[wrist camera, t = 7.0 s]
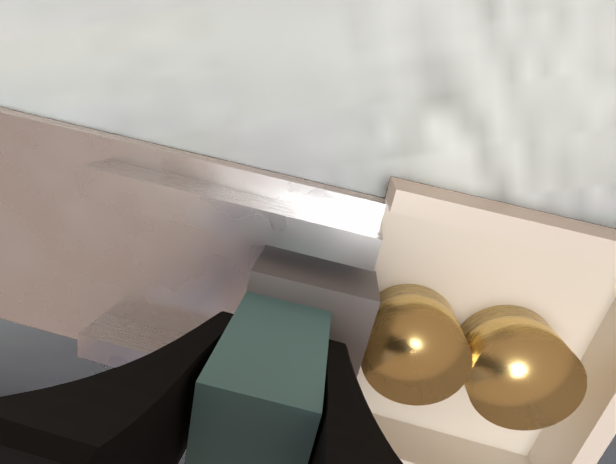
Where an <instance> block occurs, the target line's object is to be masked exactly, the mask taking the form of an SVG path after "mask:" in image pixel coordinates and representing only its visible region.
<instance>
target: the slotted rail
mask: <svg viewBox="0 0 616 464" xmlns="http://www.w3.org/2000/svg"><path fill="white" fill-rule="evenodd" d="M385 207H386V201H385V198H381V197H376V196H372V195H368V194H364V193H360V192H355V191H351V190H347V189H343V188H339V187H334V186H330V185H326V184H322V183H318V182H313V181H309V180H305V179H301V178H297V177H292V176H288V175H284V174H280V173H276V172H271V171H267V170H263V169H259V168H255V167H250V166H246V165H242V164H238V163H234V162H229V161H225V160H221V159H217V158H213V157H208V156H204V155H200V154H196V153H192V152H187V151H183V150H179V149H175V148H171V147H166V146H162V145H158V144H154V143H150V142H145V141H141V140H137V139H133V138H129V137H124V136H120V135H116V134H112V133H108V132H103V131H99V130H95V129H91V128H87V127H82V126H78V125H74V124H70V123H66V122H61V121H57V120H53V119H49V118H45V117H40V116H36V115H32V114H28V113H24V112H19V111H15V110H11V109H7V108H3V107H0V318H1V319H5V320H9V321H12V322H16V323H19V324H23V325H27V326H30V327H34V328H37V329H41V330H45V331H48V332H52V333H55V334H59V335H63V336H66V337H70V338H73V339H77V340H78V357H79V358H83V359H86V360H90V361H93V362H97V363H101V364H104V365H108V366H111V367H115V368H116V367H119V366H122V365H124V364H127V363H129V362H131V361H134V360H136V359H139V358H141V357H143V356H145V355H148V354H150V353H152V352H154V351H156V350H158V349H159V348H161V347H163V346H165V345H167V344H169V343H171V342H173V341H174V340H176V339H178V338H180V337H181V336H183V335H185V334H186V333H188V332H190V331H191V330H193V329H194V328H196V327H198V326H199V325H201V324H202V323H204V322H205V321H207V320H208V319H210V318H212V317H213V316H215V315H216V314H218V313H219V312H221V311H224V312H228V313H232V314H234V313H235V311H236V309H237V308H238V306H239V304H240V302H241V300H242V299H243V297H244V295H245V293H246V292H247V286H248V281H249V275H250V270H251V269H252V267H253V265H254V264H255V262H256V260H257V259H258V257H259V256H260V254H261V252H262V251H263V249H264V247H265V246H266V245H269V246H273V247H277V248H281V249H285V250H290V251H293V252H297V253H301V254H305V255H309V256H313V257H317V258H321V259H325V260H329V261H333V262H337V263H341V264H345V265H349V266H353V267H357V268H361V269H365V270H369V271H374V268H375V265H376V261H377V258H378V255H379V251H380V248H381V244H382V241H383V237H382V231H381V225H380V224H381V221H382V217H383V214H384V211H385Z"/></svg>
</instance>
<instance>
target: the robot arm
mask: <svg viewBox="0 0 616 464" xmlns="http://www.w3.org/2000/svg"><path fill="white" fill-rule="evenodd" d="M233 315H234V314H232V313H228V312H224V311H221V312H219V313H218V314H216V315H215V316H213V317H212V318H210V319H208V320H207V321H205V322H204V323H202V324H201V325H199V326H198V327H196V328H194V329H193V330H191V331H190V332H188V333H186V334H185V335H183V336H181V337H180V338H178V339H176V340H174V341H173V342H171V343H169V344H167V345H165V346H163V347H161V348H159V349H158V350H156V351H154V352H152V353H150V354H148V355H145V356H143V357H141V358H139V359H136V360H134V361H131V362H129V363H127V364H124V365H122V366H119V367H116V368H113V369H110V370H107V371H104V372H102V373H99V374H96V375H93V376H90V377H87V378H83V379H80V380H76V381H73V382H69V383H65V384H61V385H57V386H53V387H49V388H44V389H40V390H35V391H29V392H24V393H19V394H14V395H9V396H3V397H0V464H178V463H179V461H180V459H181V457H182V455H183V453H184V451H185V450H186V448H187V442H188V435H189V427H190V420H191V413H192V405H193V398H194V390H195V383H196V380H197V379H198V377H199V375H200V373H201V371H202V370H203V368H204V366H205V364H206V363H207V361H208V359H209V357H210V355H211V354H212V352H213V350H214V348H215V347H216V345H217V343H218V341H219V339H220V338H221V336H222V334H223V332H224V331H225V329H226V327H227V325H228V324H229V322H230V320H231V318H232V316H233ZM308 464H403V463H402V461H401V460H400V459H399V457H398V456H397V454H396V453H395V452H394V450H393V449H392V447H391V445H390V444H389V442H388V441H387V439H386V437H385V436H384V434H383V432H382V431H381V429H380V427H379V425H378V424H377V422H376V420H375V418H374V416H373V414H372V412H371V410H370V408H369V406H368V404H367V402H366V399H365V397H364V395H363V392H362V390H361V387H360V385H359V383H358V380H357V377H356V375H355V372H354V369H353V366H352V363H351V360H350V356H349V352H348V348H347V346H346V344H345V343H341V342H338V341H334V340H330V339H329V344H328V355H327V366H326V377H325V388H324V399H323V410H322V416H321V419H320V423H319V426H318V430H317V433H316V437H315V440H314V444H313V447H312V451H311V454H310V458H309V461H308Z"/></svg>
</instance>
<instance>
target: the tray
mask: <svg viewBox="0 0 616 464" xmlns="http://www.w3.org/2000/svg"><path fill="white" fill-rule="evenodd" d="M385 201H386V207H385V211H384V214H383V217H382V221H381V224H380V225H381V231H382V237H383V241H382V244H381V248H380V251H379V255H378V258H377V261H376V265H375V268H374V271H376V276H377V282H378V288H379V292H380V291H382V290H384V289H386V288H388V287H391V286H395V285H399V284H417V285H422V286H426V287H428V288H431V289H433V290H435V291H436V292H438V293H439V294H441V295H442V296H443V297H444V298H445V299H446V300H447V301H448V302H449V304H450V305H451V307H452V309H453V311H454V313H455V315H456V317H457V319H458V322H459V324H460V326H461V324H462V323H463V322H464V321H465V320H466V319H467V318H469V317H470V316H471V315H473V314H474V313H476V312H478V311H480V310H482V309H485V308H488V307H492V306H496V305H516V306H521V307H524V308H527V309H530V310H532V311H534V312H536V313H537V314H539V315H540V316H541V317H542V318H543V319H545V321H546V322H547V323H548V324H549V325H550V326H551V328H552V329H553V330H554V331H555V332H556V333H557V334H558V336H559V337H560V338H561V339H562V340H563V341H564V343H565V344H566V345H567V346H568V347H569V348H570V349H571V351H572V352H573V353H574V354H575V355H576V356H577V358H578V359H579V360H580V361H581V363H582V364H583V366H584V368H585V371H586V374H587V391H586V394H585V397H584V399H583V401H582V403H581V404H580V405H579V407H578V408H577V409H576V410H575V411H574V412H573V413H572V414H571V415H570V416H568V417H567V418H566V419H564V420H562V421H561V422H559V423H557V424H555V425H552V426H549V427H546V428H542V429H537V430H527V431H522V430H511V429H507V428H503V427H500V426H497V425H495V424H493V423H491V422H489V421H488V420H486V419H485V418H483V417H482V416H481V415H480V414H479V413H478V412H477V411H476V410H475V408H474V407H473V406H472V404H471V402H470V399H469V397H468V394H467V391H466V388H465V386H464V385H463V386H462V387H461V388H460V390H458V391H457V392H456V393H455V394H453V395H452V396H450V397H449V398H447V399H445V400H443V401H440V402H437V403H434V404H429V405H420V406H414V405H405V404H401V403H397V402H394V401H392V400H389V399H387V398H385V397H383V396H382V395H381V394H379V393H378V392H377V391H375V390H374V389H373V388H372V387H371V385H370V384H369V383H368V381H367V380H366V378H365V376H364V374H363V371H362V368H361V366H360V369H359V372H358V376H357V380H358V383H359V385H360V387H361V390H362V392H363V395H364V397H365V399H366V402H367V404H368V406H369V408H370V410H371V412H372V414H373V416H374V418H375V420H376V422H377V424H378V425H379V427H380V429H381V431H382V432H383V434H384V436H385V437H386V439H387V441H388V442H389V444H390V445H391V447H392V449H393V450H394V452H395V453H396V454H397V456H398V457H399V459H400V460H401V461H402V463H403V464H597V462H598V460H599V459H600V457H601V456H602V454H603V453H604V451H605V450H606V448H607V447H608V445H609V444H610V442H611V440H612V439H613V437H614V436H615V434H616V229H613V228H609V227H604V226H600V225H596V224H592V223H587V222H583V221H579V220H575V219H570V218H566V217H562V216H557V215H553V214H549V213H545V212H540V211H536V210H532V209H528V208H523V207H519V206H515V205H510V204H506V203H502V202H498V201H493V200H489V199H485V198H480V197H476V196H472V195H468V194H463V193H459V192H455V191H451V190H446V189H442V188H438V187H433V186H429V185H425V184H421V183H416V182H412V181H408V180H404V179H399V178H395V177H391V179H390V182H389V186H388V189H387V193H386V196H385Z"/></svg>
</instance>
